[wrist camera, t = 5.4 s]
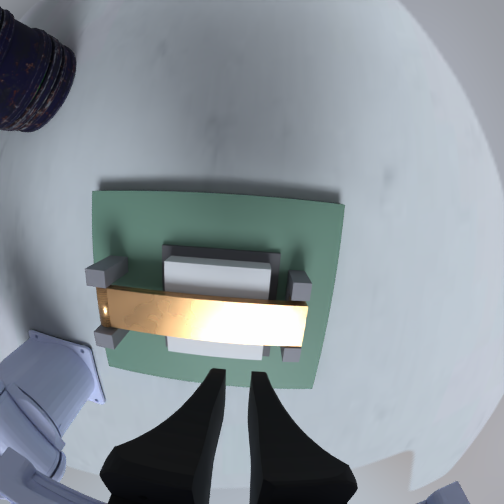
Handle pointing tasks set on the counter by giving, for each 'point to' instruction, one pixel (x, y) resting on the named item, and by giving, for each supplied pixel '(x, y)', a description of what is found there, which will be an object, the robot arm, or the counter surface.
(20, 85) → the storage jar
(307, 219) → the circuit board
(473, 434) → the counter surface
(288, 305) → the hold-down strap
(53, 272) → the counter surface
